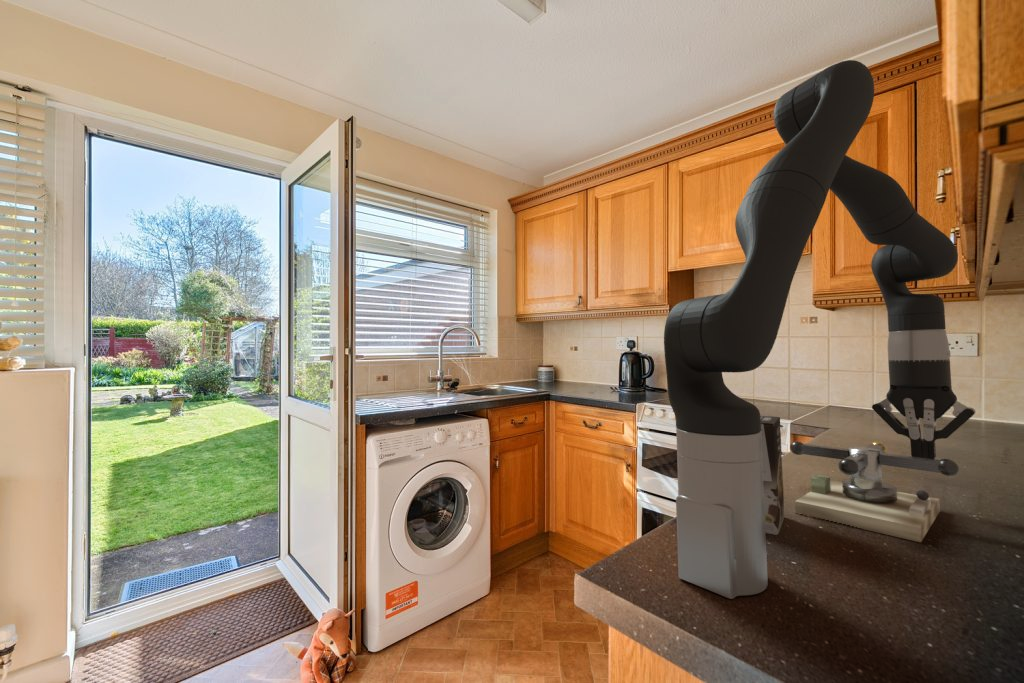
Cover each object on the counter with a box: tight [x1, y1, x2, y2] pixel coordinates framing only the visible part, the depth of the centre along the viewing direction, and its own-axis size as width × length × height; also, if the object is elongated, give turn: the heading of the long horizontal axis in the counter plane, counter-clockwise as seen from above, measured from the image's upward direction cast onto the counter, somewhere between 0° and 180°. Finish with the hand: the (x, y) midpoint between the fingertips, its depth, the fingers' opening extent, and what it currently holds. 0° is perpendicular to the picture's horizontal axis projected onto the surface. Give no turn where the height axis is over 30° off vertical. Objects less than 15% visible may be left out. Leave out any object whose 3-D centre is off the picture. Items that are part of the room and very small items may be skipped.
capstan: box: [789, 440, 960, 502], centre depth 71 cm, size 22×22×8 cm
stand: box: [794, 474, 941, 543], centre depth 70 cm, size 18×15×4 cm
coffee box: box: [760, 415, 785, 536], centre depth 68 cm, size 9×6×16 cm
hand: (924, 462), depth 72 cm, fingers closed
